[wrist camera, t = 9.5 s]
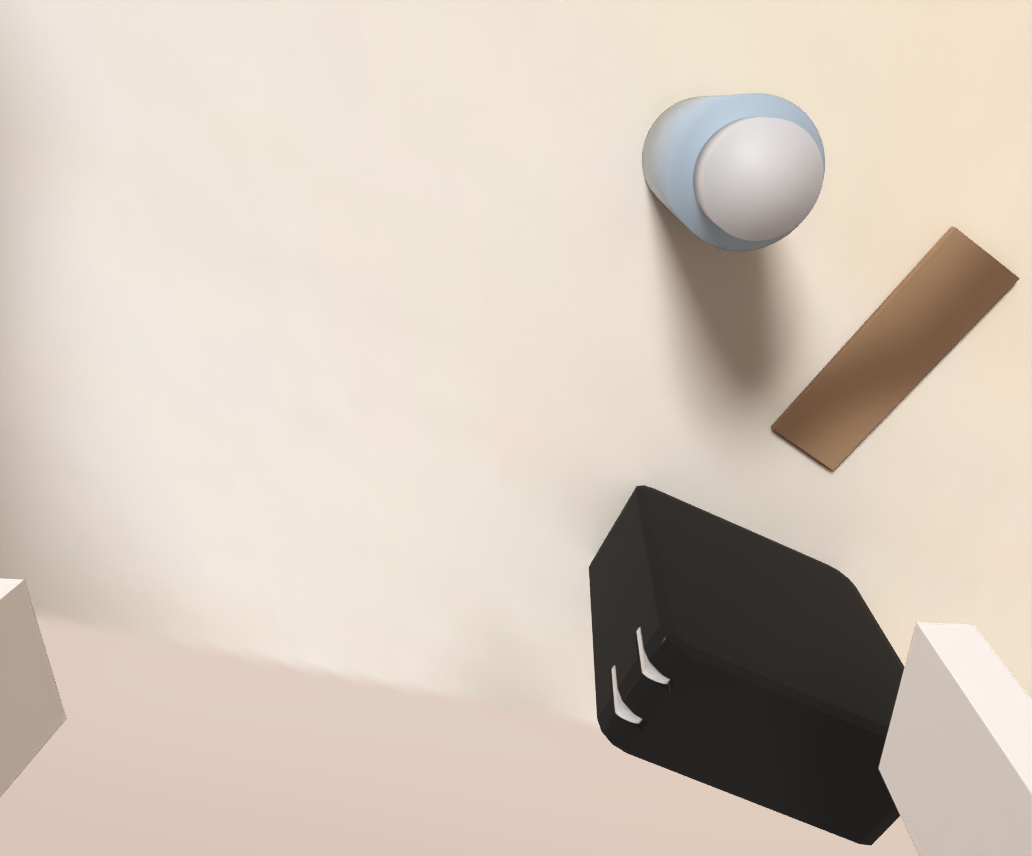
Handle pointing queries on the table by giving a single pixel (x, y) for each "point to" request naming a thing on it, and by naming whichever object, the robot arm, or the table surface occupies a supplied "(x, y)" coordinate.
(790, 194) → the marker peg
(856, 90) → the table surface
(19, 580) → the robot arm
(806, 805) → the electronic device
